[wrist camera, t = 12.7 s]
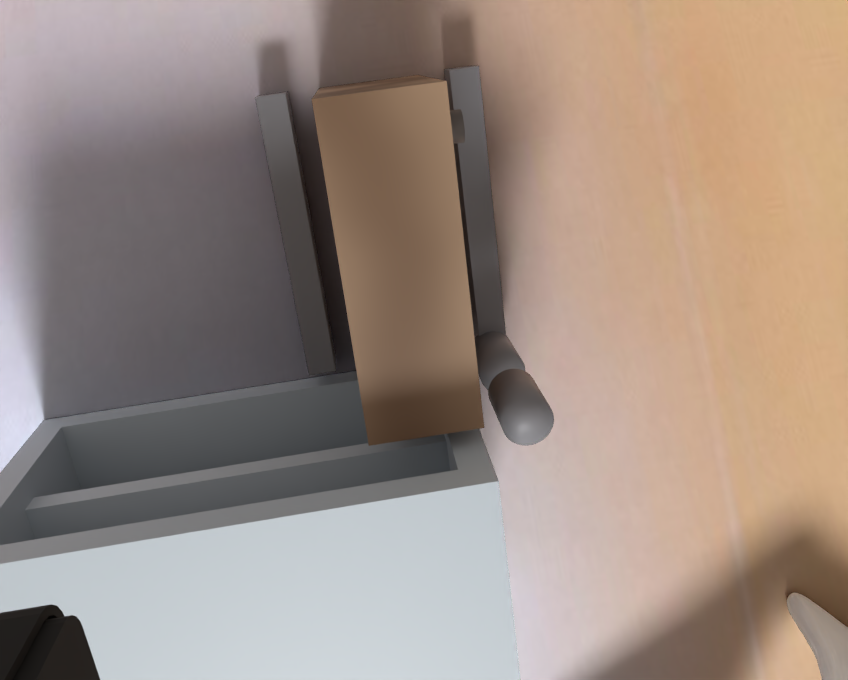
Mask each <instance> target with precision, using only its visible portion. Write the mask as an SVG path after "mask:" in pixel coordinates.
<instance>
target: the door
mask: <svg viewBox="0 0 848 680" xmlns="http://www.w3.org/2000/svg"><path fill="white" fill-rule="evenodd" d="M312 105H313V111H314V117H315V123H316V129H317V135H318V141H319V147H320V153H321V159H322V165H323V171H324V177H325V183H326V189H327V195H328V202H329V208H330V214H331V220H332V226H333V232H334V238H335V244H336V250H337V256H338V262H339V268H340V274H341V280H342V286H343V292H344V299H345V305H346V311H347V317H348V323H349V329H350V335H351V341H352V347H353V353H354V359H355V365H356V371H357V377H358V383H359V389H360V396H361V402H362V408H363V414H364V420H365V426H366V432H367V438H368V444H369V446H371V445H378V444H384V443H390V442H397V441H403V440H409V439H416V438H422V437H429V436H435V435H441V434H448V433H454V432H460V431H467V430H473V429H480V428H484V422H483V413H482V403H481V394H480V385H479V376H478V366H477V357H476V348H475V339H474V329H473V320H472V311H471V301H470V292H469V283H468V274H467V264H466V255H465V246H464V237H463V227H462V218H461V209H460V200H459V190H458V181H457V172H456V163H455V153H454V144H457V143H464V142H465V128H464V120H463V115H462V111H461V109H456V110H450V107H449V98H448V89H447V81H444V80H440V79H435V78H430V77H426V76H421V75H413V76H406V77H398V78H391V79H383V80H376V81H368V82H361V83H353V84H346V85H338V86H331V87H323V88H319V89H318V91H317V92H316V94H315V95H314V96H313V98H312Z"/></svg>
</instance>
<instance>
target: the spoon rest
mask: <svg viewBox="0 0 848 680" xmlns="http://www.w3.org/2000/svg"><path fill="white" fill-rule="evenodd" d="M787 606H788V610H789V612H790V614H791V616H792V618H793V619H794V621H795V623H796V624H797V626H798V628H799V629H800V631H801V632H802V634H803V635H804V637H805V639H806V640H807V642H808V644H809V645H810V647H811V649H812V651H813V653H814V655H815V657H816V659H817V662H818V666H819V669H820V673H821V677H822V680H848V627H846V626H845V625H844V624H842V623H841V622H840V621H838V620H837V619H836V618H834V617H833V616H832V615H831V614H829V613H828V612H827V611H825V610H824V609H822V608H821V607H820V606H818V605H817V604H815V603H814V602H813V601H811V600H810V599H808V598H807V597H805V596H803V595H801V594H799V593H791V594H790V595H789V596H788V598H787Z"/></svg>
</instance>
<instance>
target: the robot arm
mask: <svg viewBox="0 0 848 680" xmlns="http://www.w3.org/2000/svg"><path fill="white" fill-rule="evenodd" d="M0 680H100V677H99V674H98V671H97V668H96V665H95V662H94V659H93V656H92V653H91V650H90V647H89V644H88V641H87V638H86V635H85V632H84V629H83V626H82V624H81V622H80V620H79V619H78V618H77V617H76V616H73V615H70V616H64V614H63V612H62V611H61V610H60V608H59V607H58V606H56V605H52V604H51V605H45V606H39V607H32V608H26V609H20V610H14V611H8V612H2V613H0Z"/></svg>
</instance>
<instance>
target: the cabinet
mask: <svg viewBox="0 0 848 680" xmlns="http://www.w3.org/2000/svg"><path fill="white" fill-rule="evenodd" d="M444 75H445V81H447V89H448V98H449V107H450V110H456V109H461V111H462V115H463V120H464V128H465V142H464V143H457V144H454V153H455V163H456V172H457V181H458V190H459V200H460V209H461V218H462V227H463V237H464V246H465V255H466V264H467V274H468V283H469V292H470V301H471V310H472V318H473V327H474V335H475V338H474V339H475V348H476V357H477V366H478V374H479V377H480V379H481V381H482V383H483V385H484V386H485V387H486V389H488V395H489V399H490V402H491V404H492V406H493V408H494V411H495V413H496V415H497V418H498V420H499V422H500V424H501V427H502V429H503V431H504V433H505V435H506V437H507V438H508V439H509V440H511V441H512V442H514V443H516V444H519V445H533V444H536V443H538V442H540V441H542V440H543V439H544V438H546V437H547V435H548V434H549V433H550V431H551V429H552V427H553V423H554V416H553V412H552V410H551V408H550V406H549V405H548V403H547V401H546V400H545V398H544V396H543V395H542V393H541V391H540V390H539V388H538V386H537V385H536V383H535V381H534V380H533V378H532V377H531V376H530V374H528V373H527V372H525V366H524V363H523V361H522V360H521V358H520V356H519V355H518V353H517V351H516V350H515V348H514V346H513V345H512V343H511V341H510V340H509V338H508V337H507V336H506V331H505V321H504V311H503V301H502V291H501V281H500V271H499V261H498V251H497V241H496V231H495V221H494V211H493V201H492V191H491V181H490V171H489V162H488V152H487V142H486V132H485V122H484V112H483V102H482V92H481V82H480V72H479V66H466V67H459V68H451V69H444ZM255 100H256V105H257V110H258V116H259V121H260V126H261V131H262V136H263V141H264V146H265V151H266V157H267V162H268V167H269V172H270V177H271V182H272V187H273V193H274V198H275V203H276V208H277V213H278V218H279V223H280V229H281V234H282V239H283V244H284V249H285V254H286V259H287V265H288V270H289V275H290V280H291V285H292V290H293V295H294V301H295V306H296V311H297V316H298V321H299V326H300V331H301V337H302V342H303V347H304V352H305V357H306V362H307V367H308V372H309V375H315V374H321V373H327V372H334V371H336V355H335V349H334V344H333V338H332V333H331V327H330V321H329V316H328V310H327V305H326V299H325V294H324V288H323V283H322V277H321V272H320V266H319V260H318V255H317V249H316V244H315V238H314V233H313V227H312V222H311V216H310V211H309V205H308V199H307V194H306V188H305V183H304V177H303V172H302V166H301V161H300V155H299V150H298V144H297V139H296V133H295V127H294V122H293V116H292V111H291V105H290V100H289V94H288V91H287V92H280V93H273V94H266V95H259V96H257V97H255ZM51 604H52V605H56V606H58V607H59V608H60V610H61V611H62V612H63V614H64V616H70V615H73V616H76V617H77V618H78V619H79V620H80V622H81V624H82V626H83V629H84V632H85V635H86V638H87V641H88V644H89V647H90V650H91V653H92V656H93V659H94V662H95V665H96V668H97V671H98V674H99V677H100V680H521V679H520V670H519V661H518V652H517V643H516V634H515V625H514V616H513V607H512V598H511V589H510V580H509V571H508V562H507V553H506V544H505V535H504V526H503V517H502V508H501V499H500V490H499V481H498V478H497V476H496V473H495V470H494V468H493V465H492V462H491V460H490V457H489V454H488V452H487V449H486V446H485V444H484V441H483V438H482V436H481V433H480V430H479V429H473V430H467V431H460V432H454V433H448V434H441V435H435V436H429V437H422V438H416V439H409V440H403V441H397V442H390V443H384V444H378V445H371V446H369V444H368V438H367V432H366V426H365V420H364V414H363V408H362V402H361V396H360V389H359V383H358V377H357V371H351V372H345V373H339V374H332V375H326V376H320V377H313V378H307V379H301V380H294V381H288V382H282V383H275V384H269V385H263V386H256V387H250V388H244V389H237V390H231V391H225V392H218V393H212V394H206V395H199V396H193V397H187V398H180V399H174V400H168V401H161V402H155V403H149V404H142V405H136V406H130V407H123V408H117V409H111V410H104V411H98V412H92V413H85V414H79V415H73V416H66V417H60V418H54V419H47V420H43V422H42V423H41V424H40V425H39V426H38V428H37V429H36V430H35V431H34V433H33V434H32V435H31V436H30V437H29V439H28V440H27V441H26V442H25V443H24V445H23V446H22V447H21V448H20V450H19V451H18V452H17V453H16V454H15V456H14V457H13V458H12V459H11V461H10V462H9V463H8V464H7V465H6V467H5V468H4V469H3V470H2V471H1V473H0V613H2V612H8V611H14V610H20V609H26V608H32V607H39V606H45V605H51Z"/></svg>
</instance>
